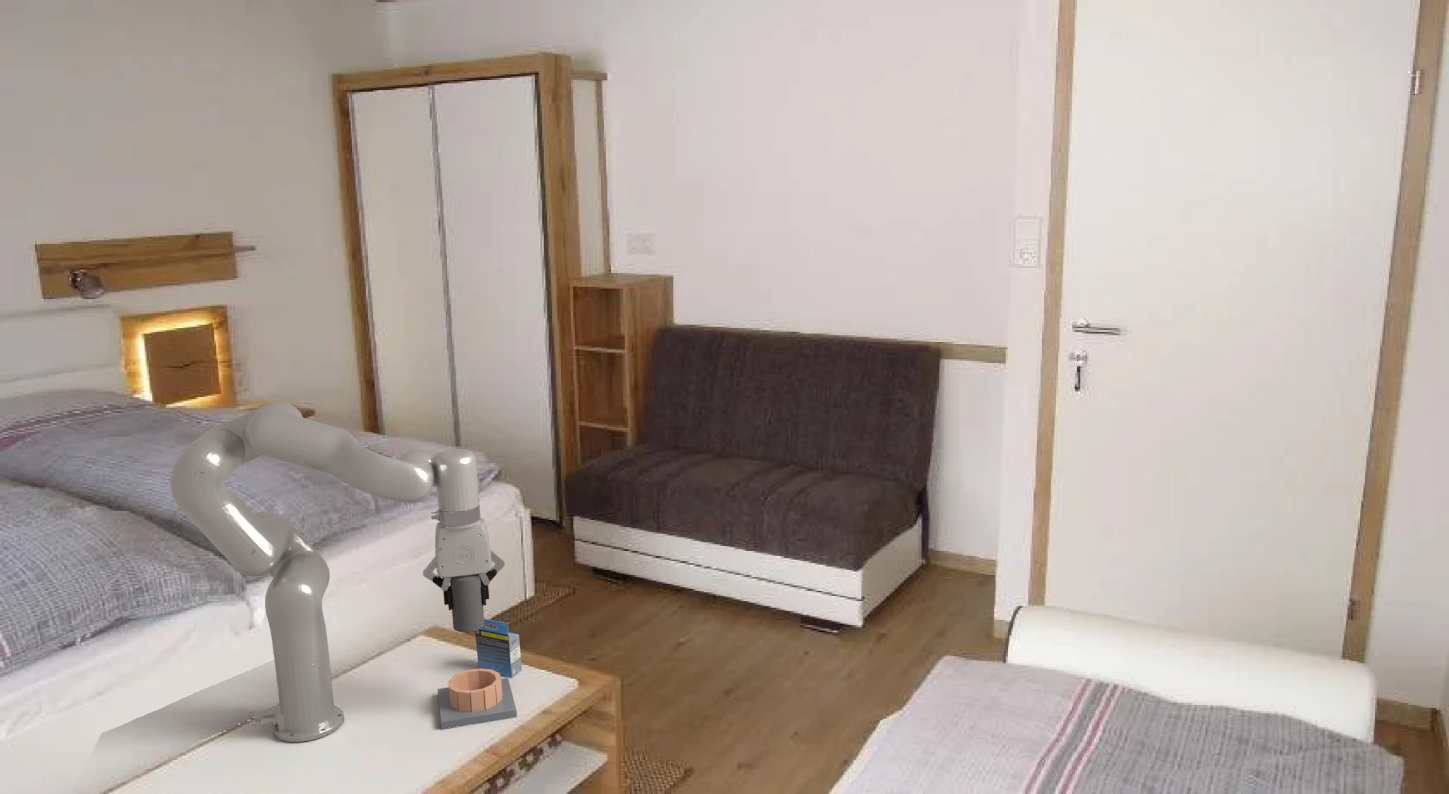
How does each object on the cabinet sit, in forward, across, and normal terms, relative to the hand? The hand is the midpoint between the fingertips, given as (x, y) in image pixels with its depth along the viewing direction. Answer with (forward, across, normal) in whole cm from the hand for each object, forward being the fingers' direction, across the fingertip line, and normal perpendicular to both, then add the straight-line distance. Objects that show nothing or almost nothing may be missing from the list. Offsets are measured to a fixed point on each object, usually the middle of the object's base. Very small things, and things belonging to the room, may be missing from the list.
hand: (467, 604), depth 202 cm
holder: (+22, 0, +1) cm, 22 cm away
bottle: (+5, 0, 0) cm, 5 cm away
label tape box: (+22, +6, +15) cm, 27 cm away
